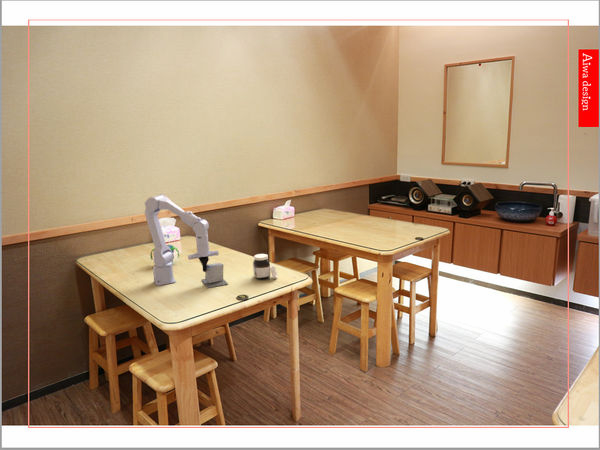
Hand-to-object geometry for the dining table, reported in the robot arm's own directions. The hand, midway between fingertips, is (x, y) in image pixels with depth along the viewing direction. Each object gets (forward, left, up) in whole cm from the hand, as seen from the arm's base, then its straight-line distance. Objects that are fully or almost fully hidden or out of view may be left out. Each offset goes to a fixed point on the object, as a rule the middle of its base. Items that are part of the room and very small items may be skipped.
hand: (204, 271), depth 218 cm
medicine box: (+4, -1, -6) cm, 7 cm away
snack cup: (-12, +44, -7) cm, 46 cm away
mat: (+4, 0, -7) cm, 8 cm away
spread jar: (+29, -7, -7) cm, 31 cm away
